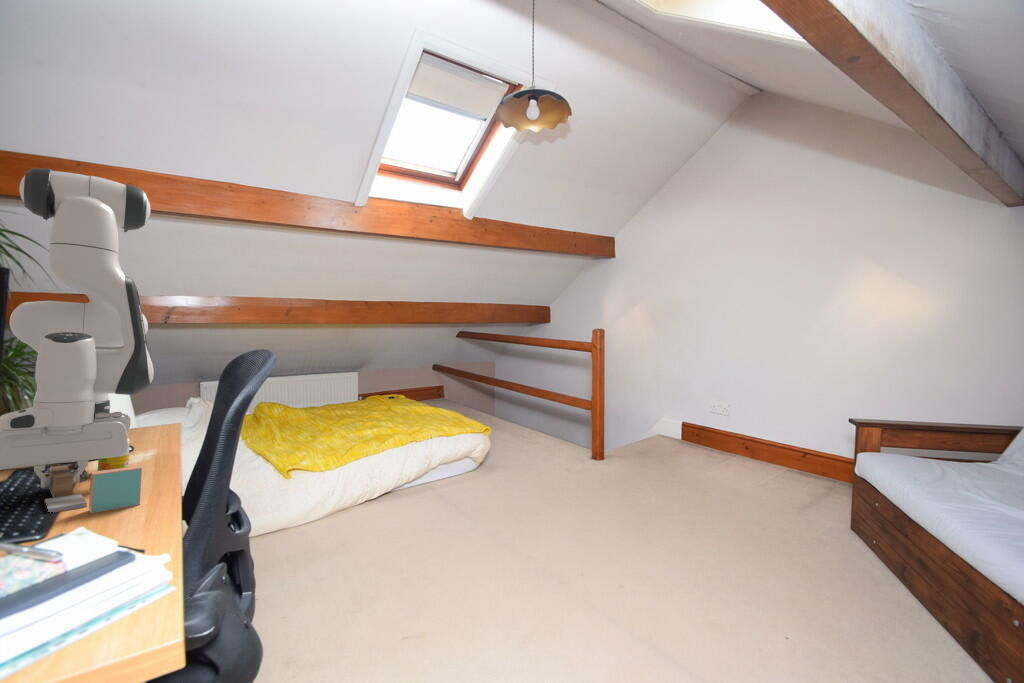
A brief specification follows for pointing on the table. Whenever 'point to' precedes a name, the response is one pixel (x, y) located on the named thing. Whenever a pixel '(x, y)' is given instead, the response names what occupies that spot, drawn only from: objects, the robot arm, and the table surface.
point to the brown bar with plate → (63, 491)
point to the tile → (115, 489)
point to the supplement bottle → (114, 462)
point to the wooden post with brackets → (74, 468)
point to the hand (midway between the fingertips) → (60, 485)
